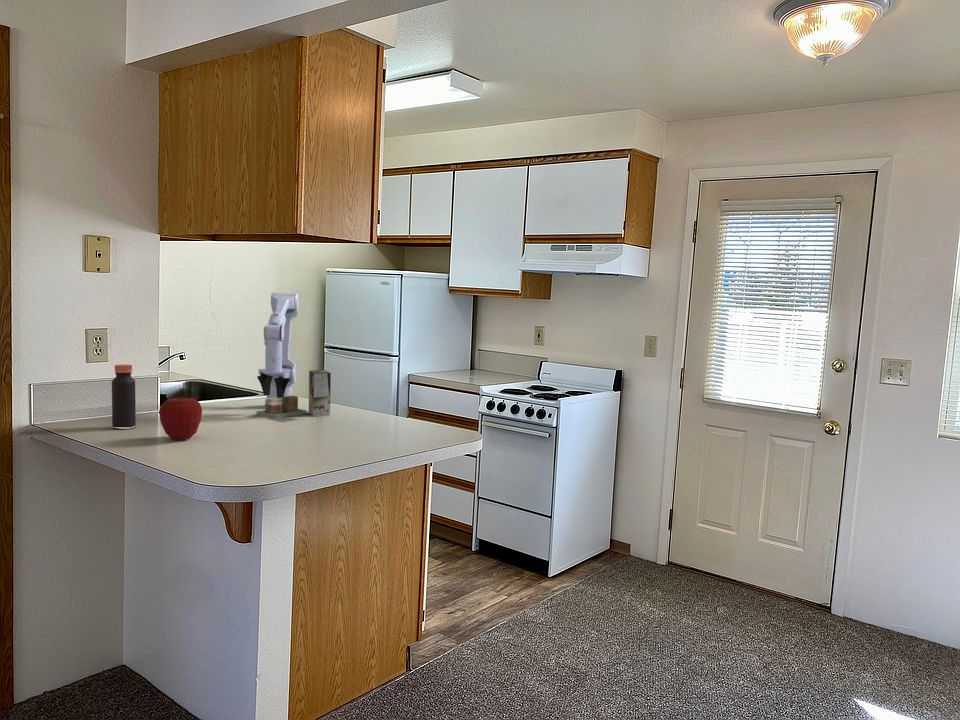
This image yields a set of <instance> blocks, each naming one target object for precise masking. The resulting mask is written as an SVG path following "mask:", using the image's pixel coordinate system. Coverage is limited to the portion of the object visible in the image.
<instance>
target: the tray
mask: <svg viewBox="0 0 960 720" xmlns="http://www.w3.org/2000/svg"><path fill="white" fill-rule="evenodd" d="M306 414H307V410H306V409H302V408H298V411H296V412H289V413H282V414H270V413H265V409H264V410H263V409H262V410H256V415H257V416H261V417H267V418H269V419H275V418H282V417H288V418H289V417H292V416H293V417H294V416H300V415H306Z"/></svg>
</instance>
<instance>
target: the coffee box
mask: <svg viewBox="0 0 960 720" xmlns="http://www.w3.org/2000/svg"><path fill="white" fill-rule="evenodd" d="M331 375H332V373H331V372H330V371H328V370H325V369H324V370H323V369H321V370H308V414H309V415H311V416H312V417H330V416H331V392H332V391H331V386H332V385H331V381H332V380H331V378H332V377H331Z"/></svg>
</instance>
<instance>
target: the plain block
mask: <svg viewBox="0 0 960 720" xmlns="http://www.w3.org/2000/svg"><path fill="white" fill-rule="evenodd" d="M298 409H299V396H296V395H292V396H283V397H282V413H289V412H296V411H298Z"/></svg>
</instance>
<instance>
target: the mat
mask: <svg viewBox="0 0 960 720" xmlns="http://www.w3.org/2000/svg"><path fill="white" fill-rule="evenodd" d="M298 420H299V419H298V418H292V417H289V416H288V417H281V418H269V421H274V422H278V423H286V422H293V421H298Z"/></svg>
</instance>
